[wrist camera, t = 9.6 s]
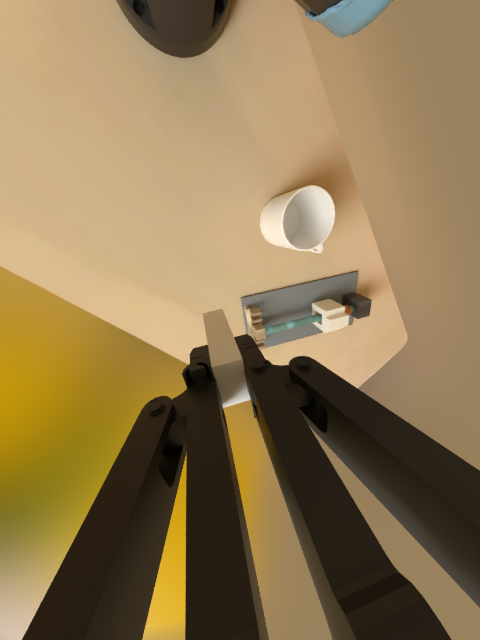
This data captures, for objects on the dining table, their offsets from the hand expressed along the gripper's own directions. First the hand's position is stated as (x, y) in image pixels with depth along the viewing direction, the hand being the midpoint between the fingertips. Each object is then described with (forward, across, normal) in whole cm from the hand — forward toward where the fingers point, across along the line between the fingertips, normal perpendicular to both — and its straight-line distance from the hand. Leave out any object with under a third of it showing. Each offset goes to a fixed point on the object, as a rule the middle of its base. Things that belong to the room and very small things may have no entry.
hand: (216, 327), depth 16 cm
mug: (+27, +18, +4) cm, 32 cm away
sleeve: (+25, +25, -15) cm, 38 cm away
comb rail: (+26, +21, -15) cm, 37 cm away
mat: (+26, +21, -15) cm, 37 cm away
